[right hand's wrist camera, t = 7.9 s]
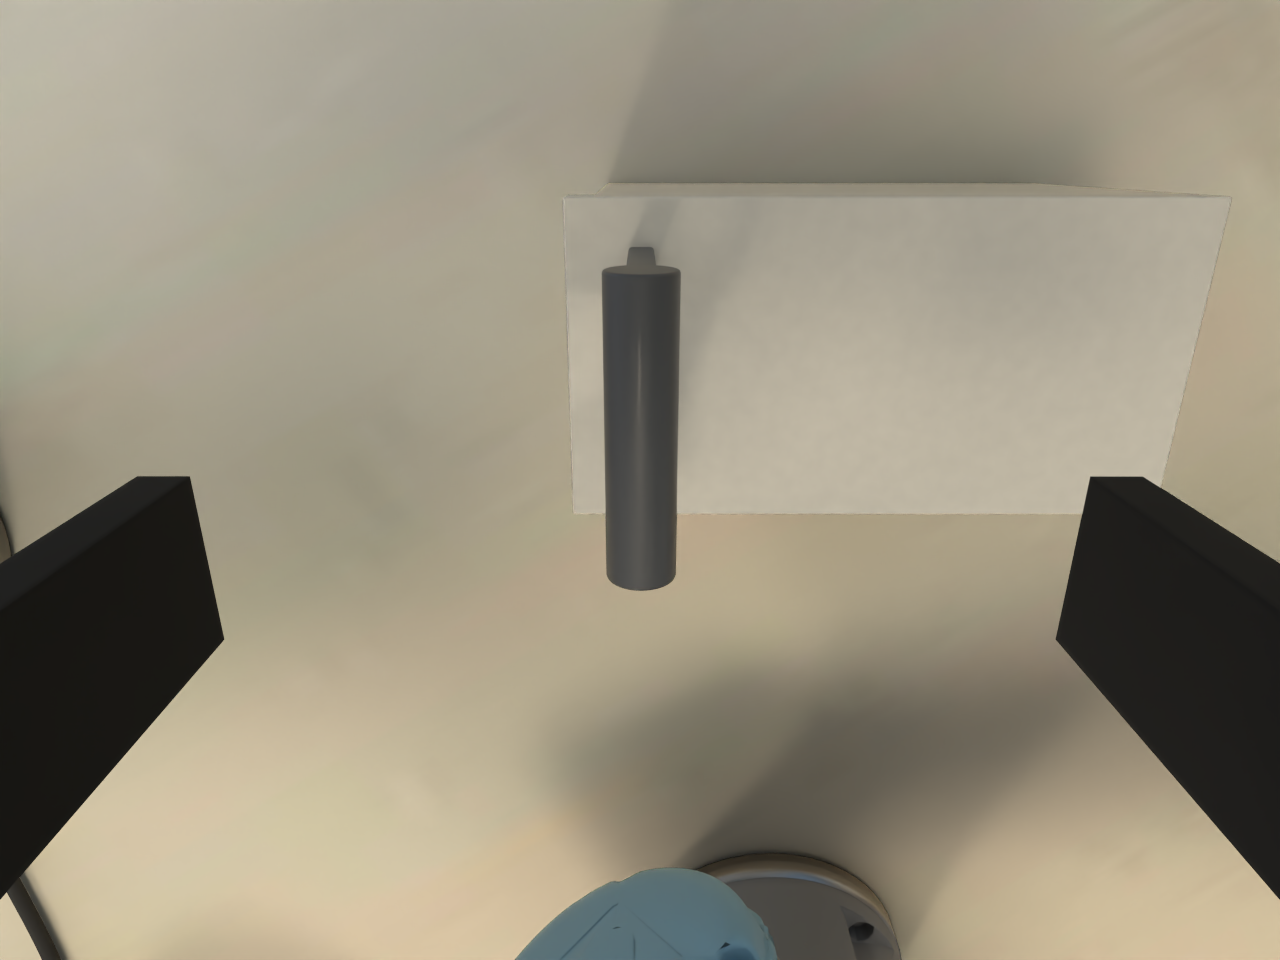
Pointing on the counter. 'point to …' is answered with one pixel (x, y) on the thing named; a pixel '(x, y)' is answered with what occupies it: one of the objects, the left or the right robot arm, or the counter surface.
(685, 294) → the lid
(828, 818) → the counter surface
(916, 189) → the chest
